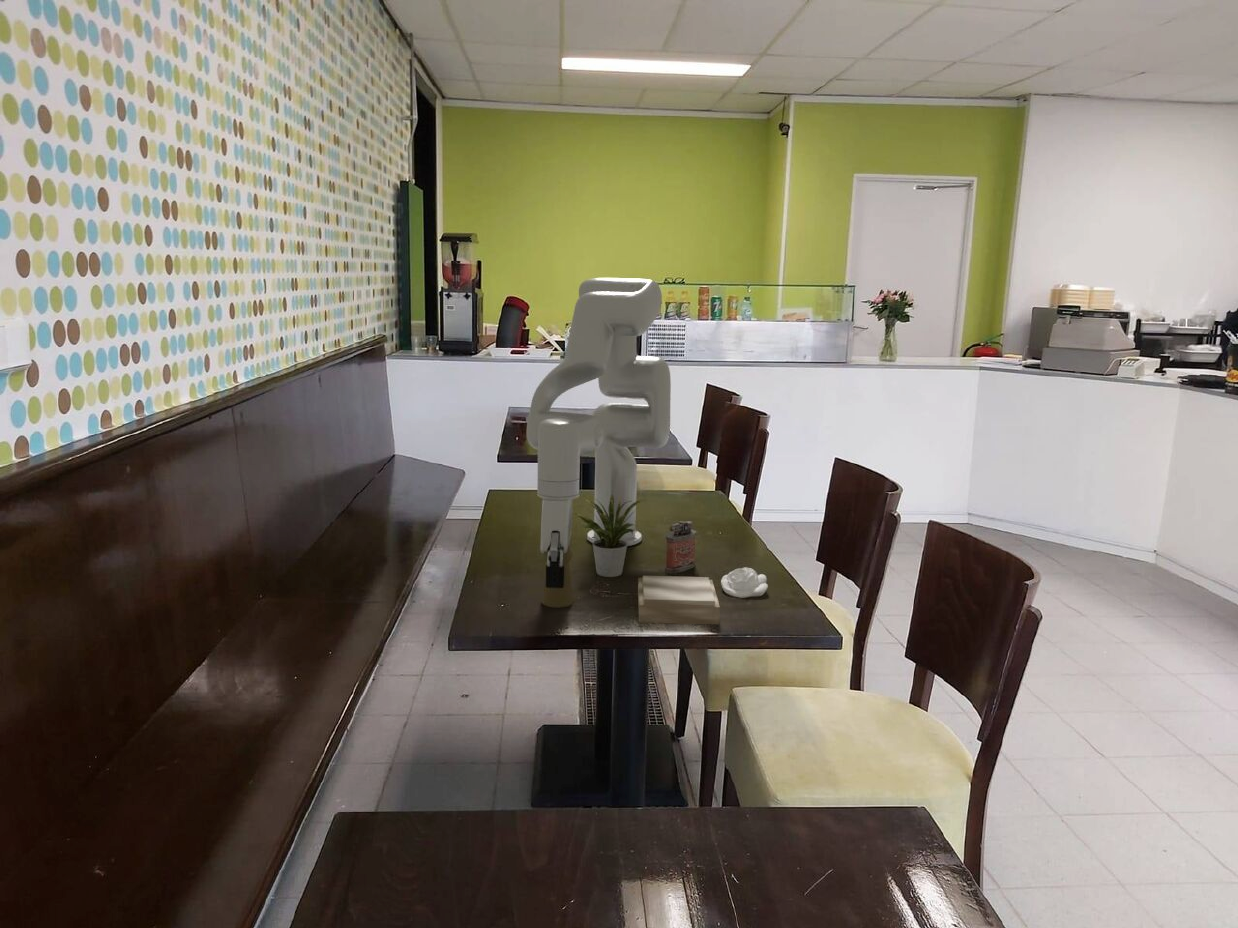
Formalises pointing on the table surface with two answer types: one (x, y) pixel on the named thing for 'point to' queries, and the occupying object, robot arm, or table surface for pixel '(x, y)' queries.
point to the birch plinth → (677, 600)
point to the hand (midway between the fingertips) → (557, 578)
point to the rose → (744, 583)
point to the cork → (559, 595)
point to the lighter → (680, 547)
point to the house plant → (609, 538)
